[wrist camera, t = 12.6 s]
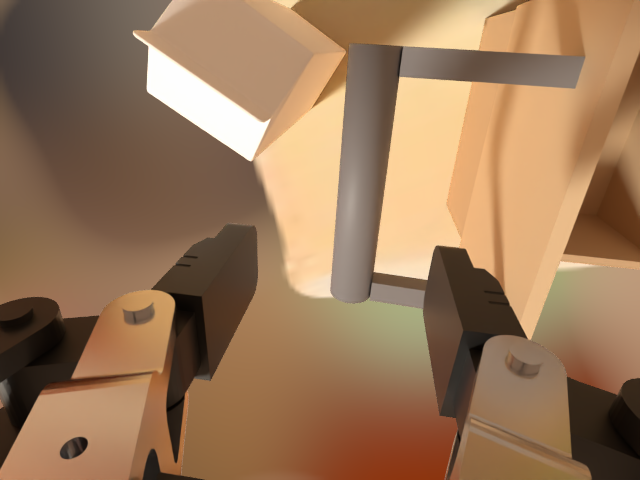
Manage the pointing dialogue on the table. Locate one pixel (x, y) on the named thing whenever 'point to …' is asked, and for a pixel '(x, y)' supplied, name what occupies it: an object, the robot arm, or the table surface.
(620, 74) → the carton flap
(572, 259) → the carton
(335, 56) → the milk
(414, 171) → the table surface
